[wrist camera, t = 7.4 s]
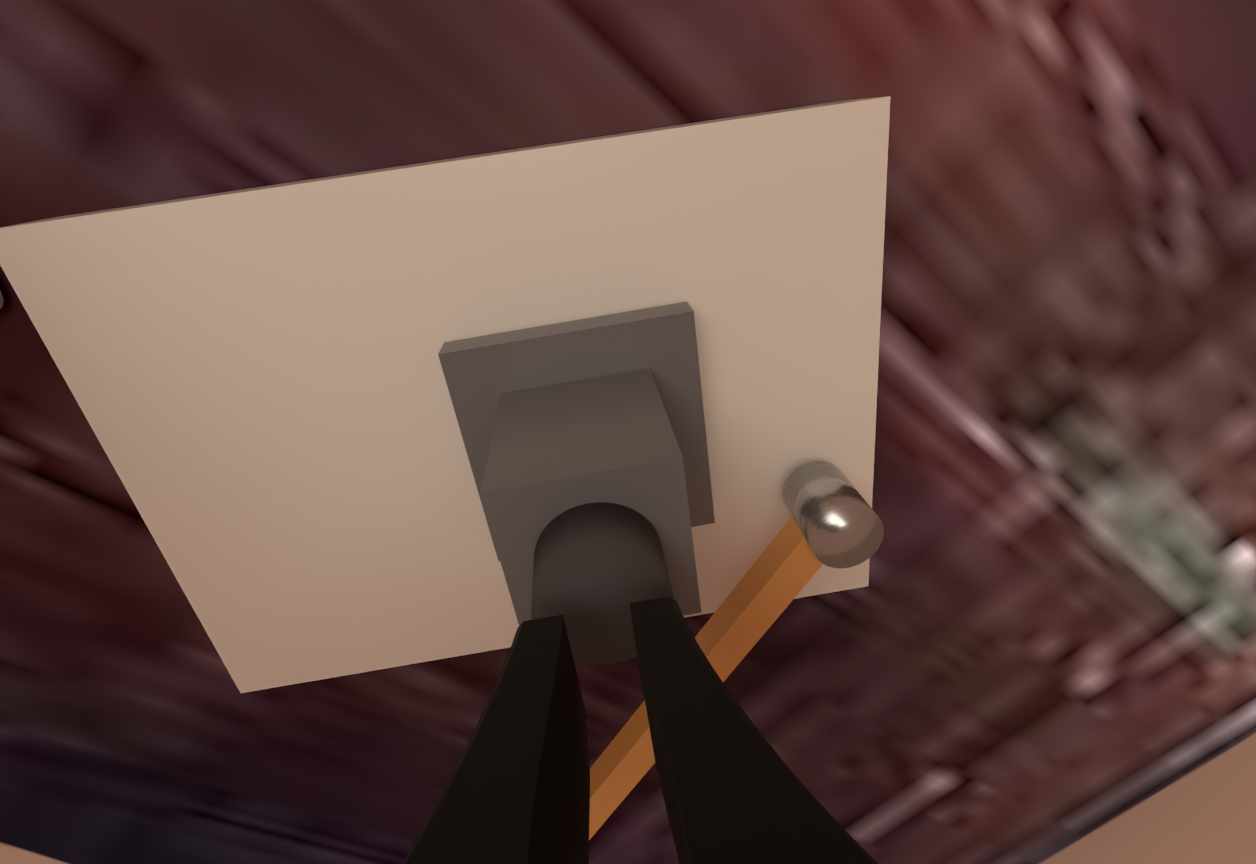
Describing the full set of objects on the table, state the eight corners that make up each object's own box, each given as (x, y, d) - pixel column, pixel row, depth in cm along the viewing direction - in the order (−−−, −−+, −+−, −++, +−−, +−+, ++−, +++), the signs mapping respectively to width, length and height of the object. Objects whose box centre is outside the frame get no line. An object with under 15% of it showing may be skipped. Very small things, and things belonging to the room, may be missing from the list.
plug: (507, 495, 20) (470, 762, 12) (458, 314, 18) (366, 490, 9) (691, 463, 21) (785, 704, 12) (670, 279, 18) (771, 419, 9)
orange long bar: (572, 824, 23) (574, 896, 21) (528, 812, 23) (524, 884, 21) (857, 477, 18) (898, 525, 16) (808, 450, 17) (843, 496, 15)
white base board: (270, 639, 22) (240, 693, 20) (57, 217, 16) (-19, 231, 14) (840, 543, 23) (868, 586, 20) (848, 99, 16) (890, 96, 14)
